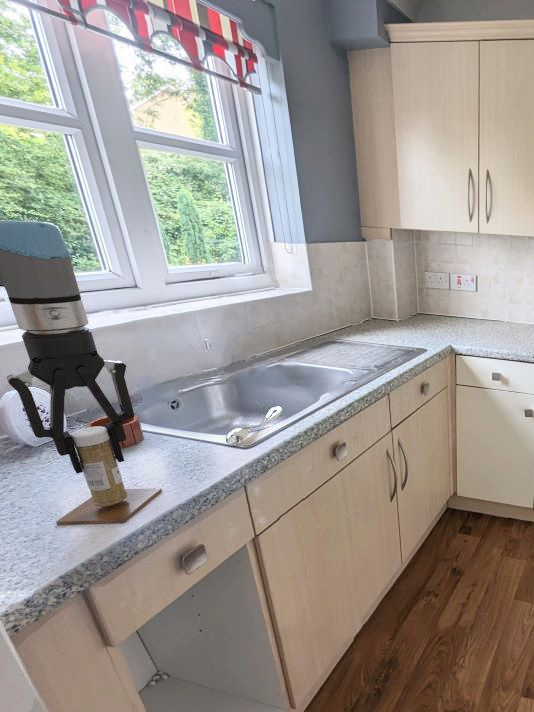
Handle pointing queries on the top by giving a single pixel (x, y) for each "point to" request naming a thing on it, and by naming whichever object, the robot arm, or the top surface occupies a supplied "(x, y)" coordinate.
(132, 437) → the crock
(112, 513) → the cork board
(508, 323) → the top surface
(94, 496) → the sprinkles bottle
